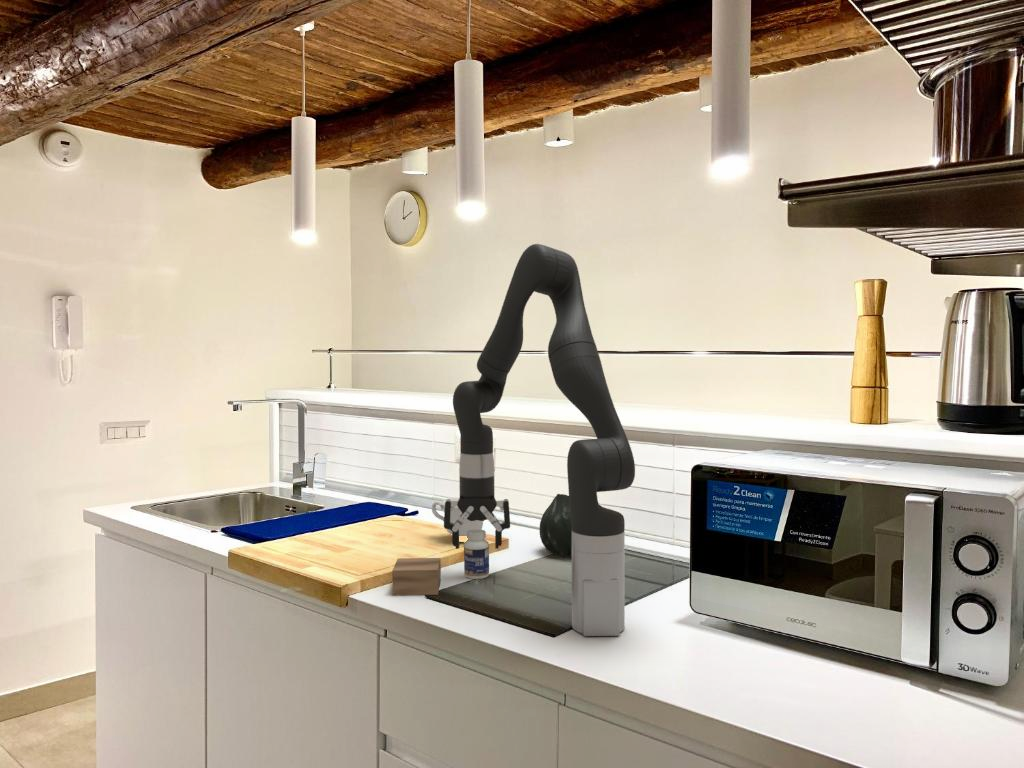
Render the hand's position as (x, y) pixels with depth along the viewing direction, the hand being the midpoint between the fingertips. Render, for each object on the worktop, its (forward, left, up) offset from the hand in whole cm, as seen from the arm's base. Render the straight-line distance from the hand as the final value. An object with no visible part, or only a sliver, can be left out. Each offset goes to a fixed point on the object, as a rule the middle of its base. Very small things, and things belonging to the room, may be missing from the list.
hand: (477, 547), depth 169 cm
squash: (+18, -22, -6) cm, 29 cm away
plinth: (-8, +12, -6) cm, 16 cm away
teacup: (+31, +5, -6) cm, 32 cm away
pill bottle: (0, 0, -6) cm, 6 cm away
